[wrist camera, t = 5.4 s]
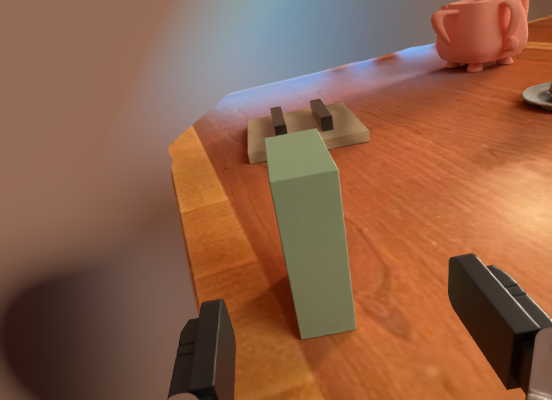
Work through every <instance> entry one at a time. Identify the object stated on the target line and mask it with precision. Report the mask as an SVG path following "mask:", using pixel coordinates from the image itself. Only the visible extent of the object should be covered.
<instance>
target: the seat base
mask: <svg viewBox="0 0 552 400" xmlns="http://www.w3.org/2000/svg"><path fill="white" fill-rule="evenodd" d="M310 104H311V108H309V109H304V110H299V111H294V112H288V113H282V110H281V107H275V108H270V109H271V114H272V116H268V117H262V118H257V119H252V120H248V157H249V162H250V164H254V163H259V162H264V161H266V152H265V144H264V139H265V138H269V137H274V136H279V135H284V134H290V133H295V132H300V131H305V130H310V129H317V131H318V132H319V134H320V136H321V138H322V140H323V142H324V144H325V146H326V148H327V149H333V148H338V147H343V146H348V145H354V144H359V143H364V142H369V141H370V135H369V130H368V129H367V128H366V127H365V126H364V125H363V124H362V122H361V121H360V120H359V119H358V118H357V117H356V116H355V115H354V114H353V113H352V112H351V110H350V109H349V108H348V107H347V106H346V105H345V104H344V103H343V102H340V103H335V104H330V105H324V104H323V102H322V101H321V100H320V99H316V100H311V101H310Z"/></svg>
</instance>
